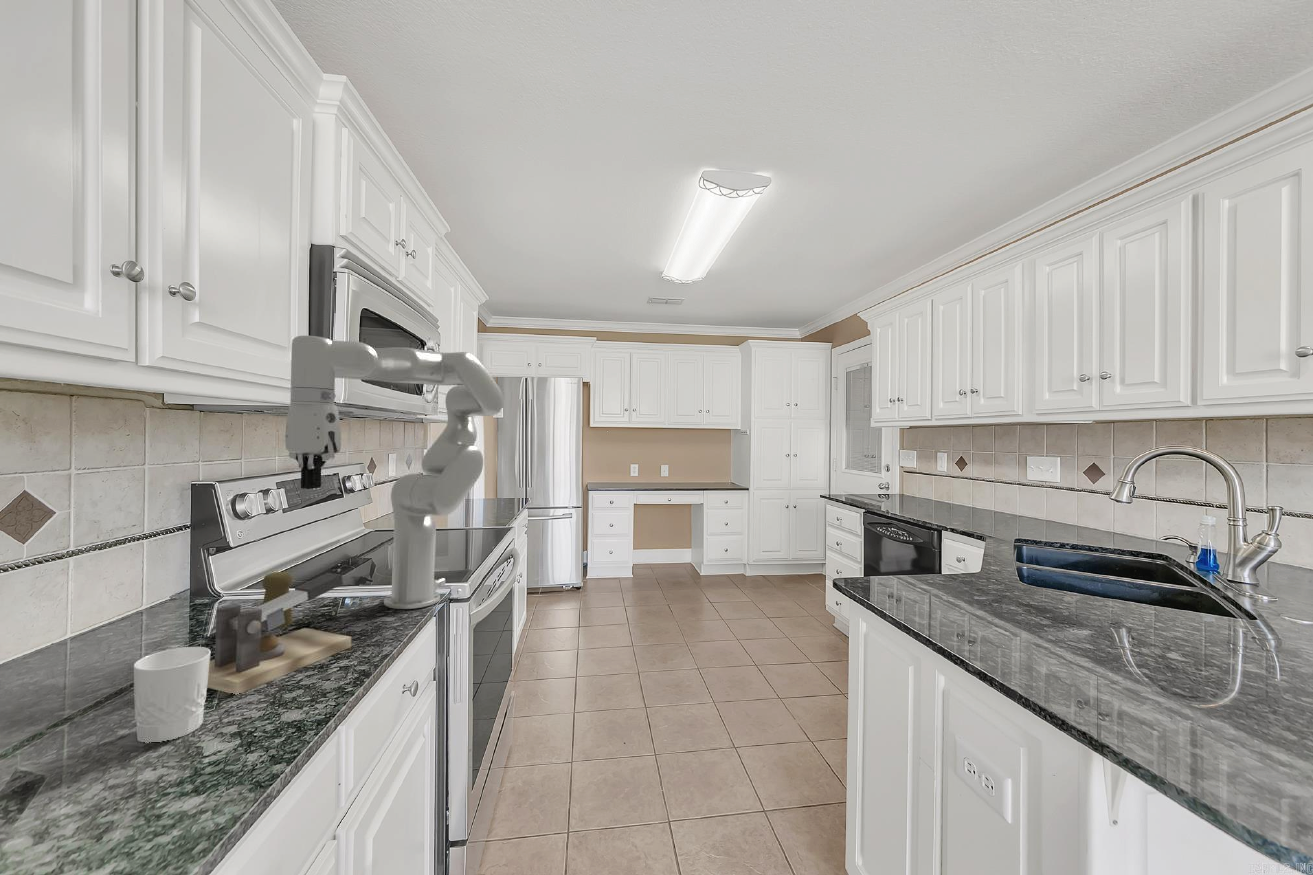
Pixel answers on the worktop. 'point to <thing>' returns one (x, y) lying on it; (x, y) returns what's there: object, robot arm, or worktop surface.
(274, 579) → the cork
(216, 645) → the nutcracker base
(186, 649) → the white cup
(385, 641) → the worktop surface
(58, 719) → the worktop surface
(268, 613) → the lever
